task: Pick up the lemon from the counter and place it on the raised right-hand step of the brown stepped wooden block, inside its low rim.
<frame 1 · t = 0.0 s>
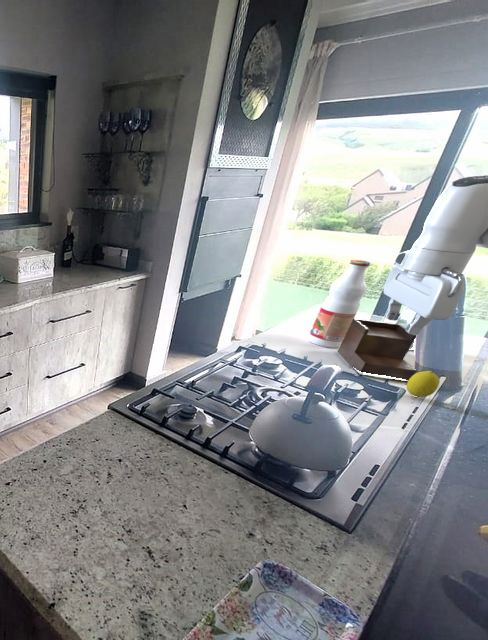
hand: (400, 326, 90), 23 cm above the counter, tool pointing down, fingers open, 8 cm apart
syrup box: (399, 347, 139), on the counter
lemon: (414, 398, 108), on the counter
brown stepped wooden block: (370, 366, 124), on the counter
fruit juice: (323, 343, 140), on the counter
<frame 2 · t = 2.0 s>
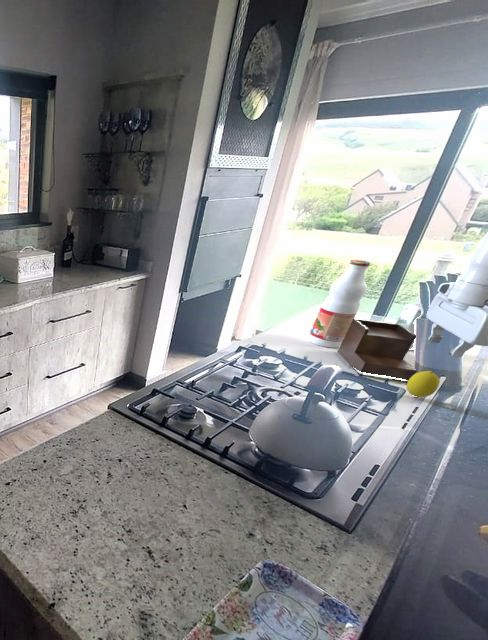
hand: (443, 348, 101), 14 cm above the counter, tool pointing down, fingers open, 8 cm apart
nothing on the counter moved.
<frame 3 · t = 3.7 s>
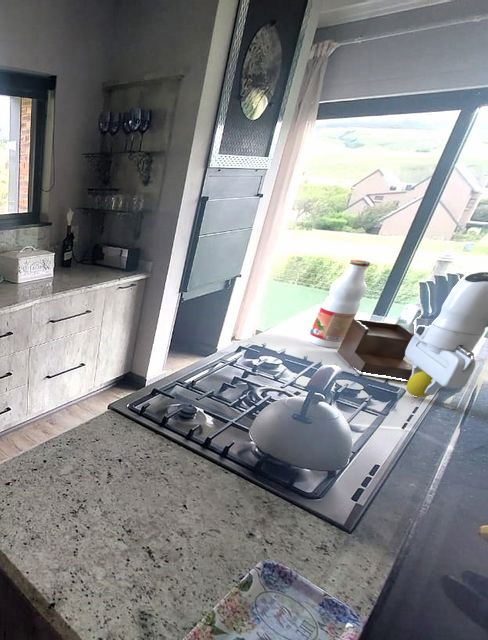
hand: (420, 387, 106), 3 cm above the counter, tool pointing down, fingers closed on lemon, 5 cm apart
lemon: (414, 398, 108), on the counter, touching gripper
everything else where it was.
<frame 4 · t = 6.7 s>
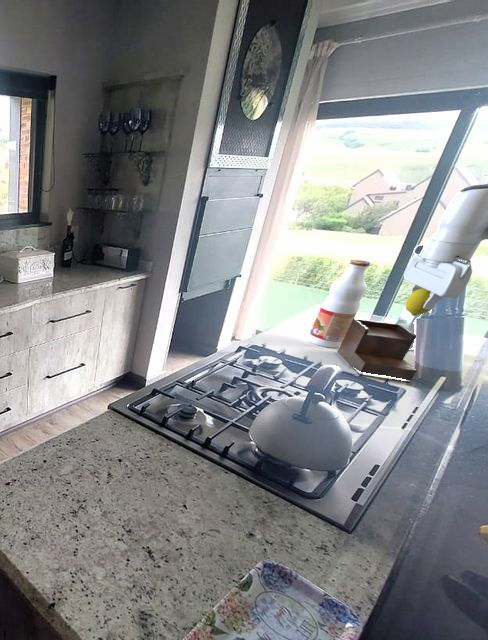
hand: (419, 304, 110), 21 cm above the counter, tool pointing down, fingers closed on lemon, 5 cm apart
lemon: (412, 316, 112), point 18 cm above the counter, touching gripper
everything else where it was.
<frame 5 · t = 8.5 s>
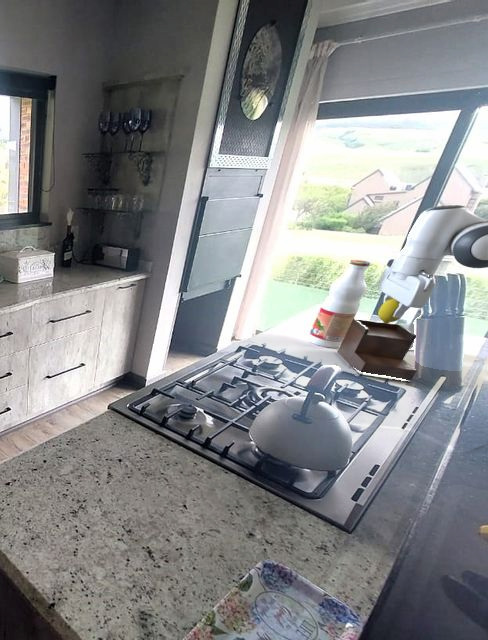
hand: (390, 313, 120), 16 cm above the counter, tool pointing down, fingers closed on lemon, 5 cm apart
lemon: (384, 324, 122), point 12 cm above the counter, touching gripper
everything else where it was.
when the fingers open (13 cm above the counter, at t = 9.7 s): lemon stays where it is, resting on brown stepped wooden block.
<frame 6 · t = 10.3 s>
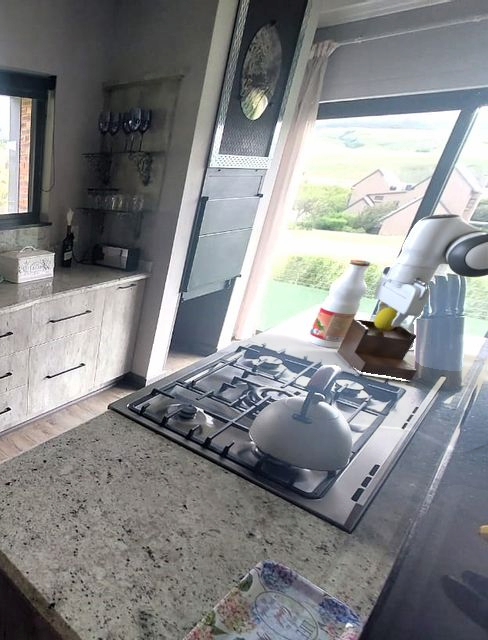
hand: (386, 320, 121), 14 cm above the counter, tool pointing down, fingers open, 8 cm apart
lemon: (380, 332, 123), point 10 cm above the counter, touching brown stepped wooden block
everything else where it was.
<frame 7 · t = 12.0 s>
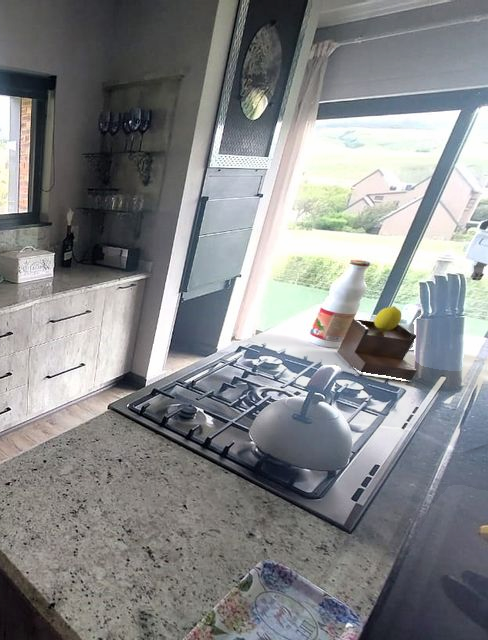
hand: (485, 284, 103), 28 cm above the counter, tool pointing down, fingers open, 8 cm apart
nothing on the counter moved.
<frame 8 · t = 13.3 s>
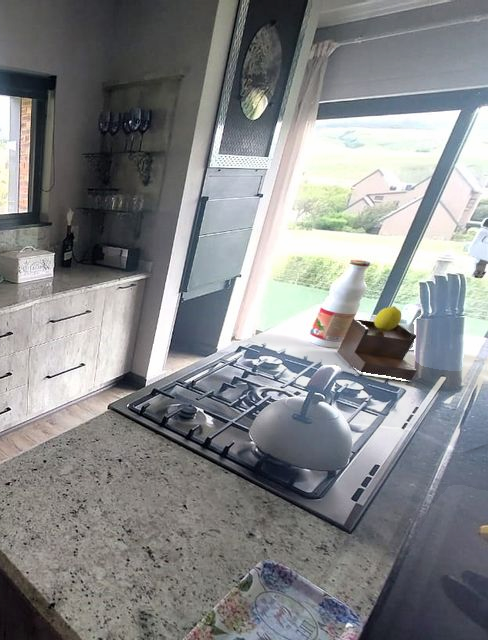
hand: (487, 281, 102), 29 cm above the counter, tool pointing down, fingers open, 8 cm apart
nothing on the counter moved.
at the end: lemon inside the target area on the brown stepped wooden block (0.0 cm from its centre), point 9.8 cm above the brown stepped wooden block's base; the gripper is holding nothing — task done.
